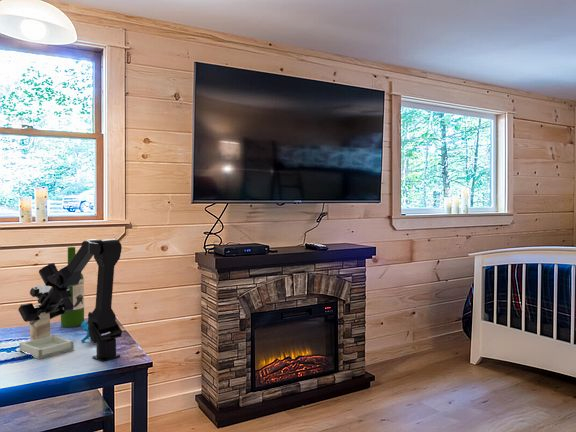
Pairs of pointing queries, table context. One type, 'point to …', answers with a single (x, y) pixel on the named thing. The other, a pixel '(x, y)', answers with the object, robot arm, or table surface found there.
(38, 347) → the sage tray
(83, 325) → the gear
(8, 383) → the table surface
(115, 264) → the robot arm
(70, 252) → the wine bottle
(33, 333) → the maple block
